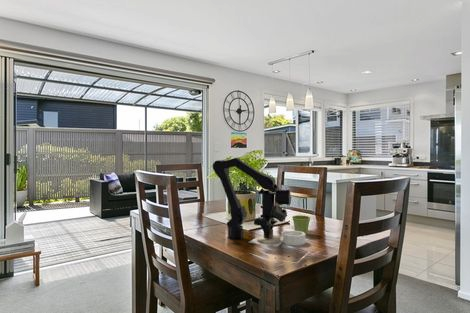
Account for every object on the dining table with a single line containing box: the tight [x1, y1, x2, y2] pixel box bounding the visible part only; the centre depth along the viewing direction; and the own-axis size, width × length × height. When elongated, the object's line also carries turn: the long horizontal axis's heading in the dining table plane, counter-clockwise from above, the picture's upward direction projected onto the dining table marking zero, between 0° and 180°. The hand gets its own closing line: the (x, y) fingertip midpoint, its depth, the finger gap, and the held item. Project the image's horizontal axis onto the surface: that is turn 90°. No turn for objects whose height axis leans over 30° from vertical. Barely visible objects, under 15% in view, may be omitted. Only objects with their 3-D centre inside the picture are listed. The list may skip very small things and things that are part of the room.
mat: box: [248, 237, 284, 248], centre depth 142 cm, size 14×14×1 cm
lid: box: [256, 229, 281, 244], centre depth 142 cm, size 11×11×5 cm
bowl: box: [282, 230, 307, 246], centre depth 140 cm, size 10×10×4 cm
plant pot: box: [291, 214, 312, 235], centre depth 155 cm, size 9×9×9 cm
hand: (268, 237), depth 142 cm, fingers closed on lid
